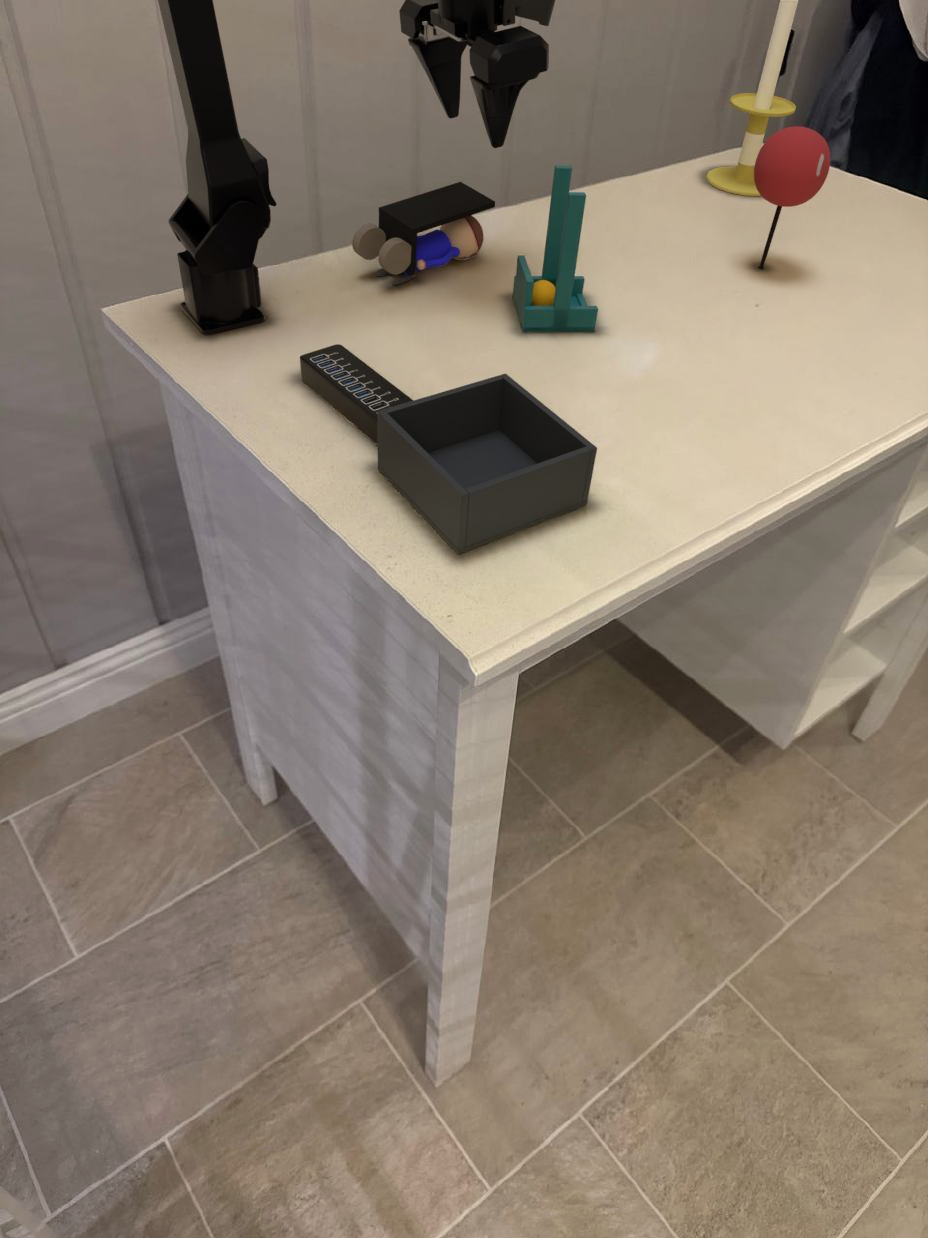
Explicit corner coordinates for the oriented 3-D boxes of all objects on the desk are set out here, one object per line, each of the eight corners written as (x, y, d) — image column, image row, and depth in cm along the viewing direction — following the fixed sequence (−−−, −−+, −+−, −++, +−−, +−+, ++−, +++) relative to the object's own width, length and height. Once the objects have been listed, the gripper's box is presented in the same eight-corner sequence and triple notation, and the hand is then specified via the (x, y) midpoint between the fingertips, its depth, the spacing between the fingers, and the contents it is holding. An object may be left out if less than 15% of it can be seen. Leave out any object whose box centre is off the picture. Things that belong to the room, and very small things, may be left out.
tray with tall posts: (522, 332, 93) (537, 194, 83) (512, 298, 98) (525, 164, 88) (594, 331, 94) (617, 195, 84) (580, 298, 99) (600, 165, 89)
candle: (766, 201, 121) (836, -47, 102) (695, 183, 125) (749, -61, 106) (788, 179, 128) (857, -59, 109) (720, 163, 131) (775, -71, 112)
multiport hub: (340, 364, 86) (339, 342, 85) (432, 438, 79) (433, 414, 77) (299, 378, 84) (297, 355, 83) (390, 454, 76) (390, 431, 75)
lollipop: (723, 274, 105) (760, 132, 94) (735, 248, 110) (771, 111, 99) (790, 288, 103) (836, 146, 93) (799, 262, 108) (843, 124, 98)
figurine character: (392, 310, 97) (497, 260, 103) (385, 241, 92) (497, 193, 98) (355, 286, 101) (459, 239, 107) (346, 218, 95) (456, 173, 101)
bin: (458, 555, 68) (462, 495, 64) (377, 469, 75) (376, 410, 71) (586, 505, 73) (597, 447, 69) (500, 429, 80) (505, 372, 76)
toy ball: (537, 318, 94) (540, 290, 92) (520, 306, 95) (523, 278, 93) (561, 312, 95) (564, 284, 93) (543, 300, 97) (546, 272, 94)
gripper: (604, -54, 77) (594, 142, 89) (493, -93, 88) (498, 85, 100) (488, -28, 74) (494, 171, 86) (389, -72, 85) (406, 110, 97)
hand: (474, 131), depth 92 cm, fingers open, 9 cm apart
